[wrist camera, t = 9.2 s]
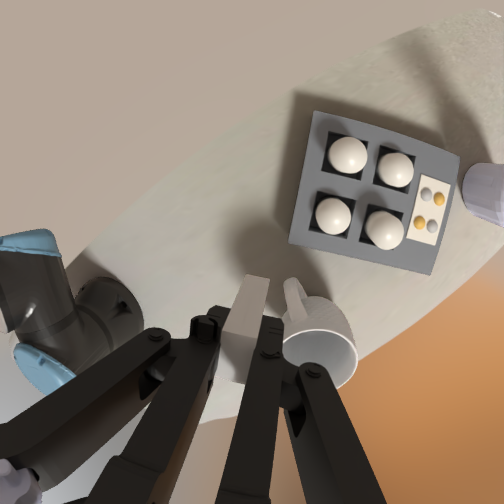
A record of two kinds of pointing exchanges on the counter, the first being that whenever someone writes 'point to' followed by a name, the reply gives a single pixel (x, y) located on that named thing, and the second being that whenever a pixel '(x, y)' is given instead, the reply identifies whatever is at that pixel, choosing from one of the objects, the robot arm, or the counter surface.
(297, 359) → the mug
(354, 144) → the button
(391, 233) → the button
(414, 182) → the button board
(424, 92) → the counter surface
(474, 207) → the soap bottle
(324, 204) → the button
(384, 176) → the button
